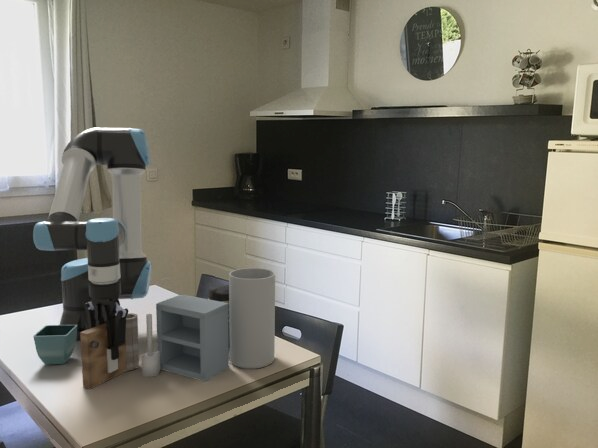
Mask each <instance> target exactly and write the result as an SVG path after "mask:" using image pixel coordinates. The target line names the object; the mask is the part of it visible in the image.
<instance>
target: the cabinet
mask: <svg viewBox="0 0 598 448" xmlns="http://www.w3.org/2000/svg"><path fill="white" fill-rule="evenodd" d="M155 308H156V310H155V312H156V314H155V315H156V317H155V318H156V341H157V345H156V349H157V350H156V351H154V343H153V342H154V341H153V315H152V313H146V316H145V318H146V320H145V321H146V351H147V352H145V353H142V354H141V357H140V358H141V376H143V377H144V378H145V377H146V378H153V377H155V376H158V375H160V370H162V371H166V372H170V373H173V374H177V375H180V376H184V377H188V378H190V379H195V380H197V381H198V380H199V381H202V382H208V381H209V380H211V379H213V378H214V377H216V376H217V375H219V374H220V373H221V372H223V371H225V370H227V369H229V367H230V366H229V365H230V363H229V361H230V348H229V329H228V303H225V302H220V301H214V300H209V299H208V298H203V297H197V296H193V295H186V294H178V295H176V296H173V297H171V298H166V299H165V300H162V301H159V302H157V303H155Z"/></svg>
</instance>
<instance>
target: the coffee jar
mask: <svg viewBox="0 0 598 448" xmlns="http://www.w3.org/2000/svg"><path fill="white" fill-rule="evenodd" d="M207 299H209V300H214V301H220V302H225V303H228V329H229V284H222V285H215V286H209V288H208V293H207ZM229 349H230V340H229Z"/></svg>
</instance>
